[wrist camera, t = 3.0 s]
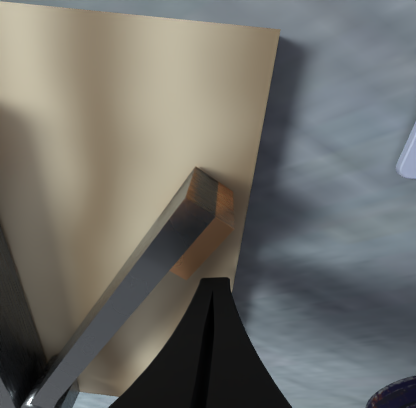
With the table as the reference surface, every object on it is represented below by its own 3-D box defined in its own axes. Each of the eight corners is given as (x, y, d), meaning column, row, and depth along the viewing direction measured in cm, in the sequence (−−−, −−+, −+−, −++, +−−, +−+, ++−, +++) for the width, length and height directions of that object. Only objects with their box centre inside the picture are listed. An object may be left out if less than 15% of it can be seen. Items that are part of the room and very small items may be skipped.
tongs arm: (232, 191, 12) (234, 229, 9) (76, 376, 20) (52, 425, 17) (189, 162, 11) (177, 192, 9) (46, 363, 19) (16, 412, 16)
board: (273, 34, 10) (280, 29, 9) (211, 387, 22) (210, 408, 21) (-102, -5, 11) (-150, -14, 9) (35, 365, 22) (22, 384, 21)
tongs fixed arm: (5, 93, 10) (-72, 104, 8) (80, 390, 20) (57, 439, 18) (-95, 83, 10) (-204, 89, 8) (29, 384, 21) (-1, 431, 18)
